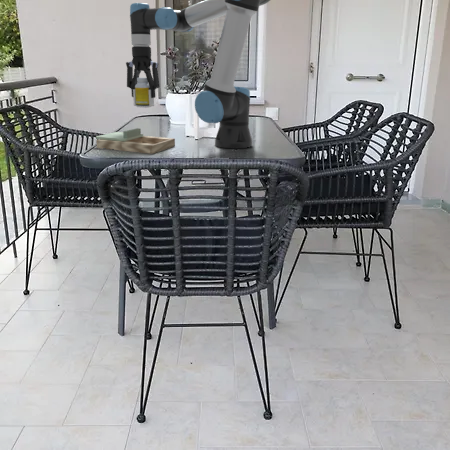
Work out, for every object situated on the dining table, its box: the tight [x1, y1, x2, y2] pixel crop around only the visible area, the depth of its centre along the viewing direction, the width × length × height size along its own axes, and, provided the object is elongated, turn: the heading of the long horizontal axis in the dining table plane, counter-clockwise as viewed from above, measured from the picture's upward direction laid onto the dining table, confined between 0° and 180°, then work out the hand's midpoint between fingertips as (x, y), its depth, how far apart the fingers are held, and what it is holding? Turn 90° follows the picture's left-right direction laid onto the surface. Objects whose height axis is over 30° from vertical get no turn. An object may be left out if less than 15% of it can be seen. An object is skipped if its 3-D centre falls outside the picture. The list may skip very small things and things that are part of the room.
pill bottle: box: [135, 77, 151, 109], centre depth 195 cm, size 6×6×12 cm
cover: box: [95, 127, 144, 141], centre depth 186 cm, size 13×14×3 cm
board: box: [95, 135, 176, 155], centre depth 185 cm, size 24×18×3 cm
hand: (143, 105), depth 196 cm, fingers closed on pill bottle, 6 cm apart
